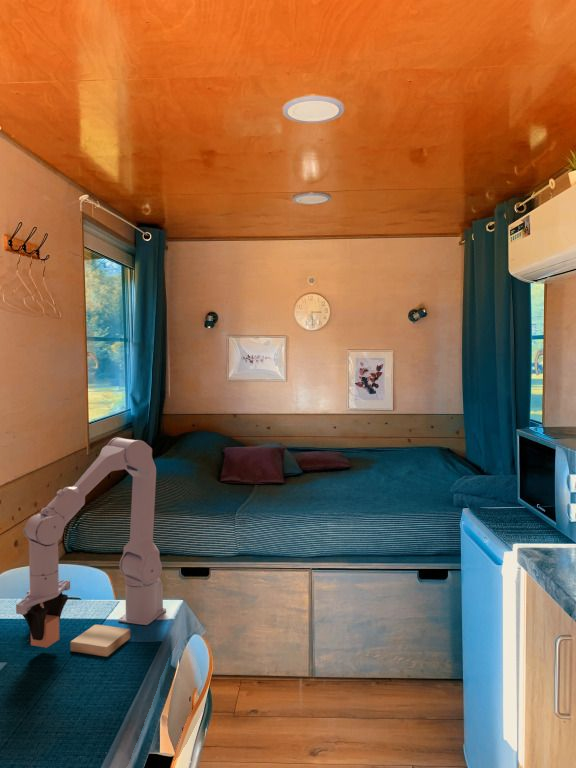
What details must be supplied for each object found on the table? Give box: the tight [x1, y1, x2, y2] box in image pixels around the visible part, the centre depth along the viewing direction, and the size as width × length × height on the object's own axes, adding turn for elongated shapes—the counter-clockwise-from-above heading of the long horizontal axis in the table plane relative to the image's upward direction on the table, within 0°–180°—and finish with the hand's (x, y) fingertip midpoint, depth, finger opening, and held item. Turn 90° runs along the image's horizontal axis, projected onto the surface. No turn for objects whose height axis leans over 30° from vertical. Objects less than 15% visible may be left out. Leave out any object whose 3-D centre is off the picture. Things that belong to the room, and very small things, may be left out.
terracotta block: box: [30, 615, 60, 649], centre depth 128 cm, size 4×4×5 cm
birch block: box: [70, 624, 131, 657], centre depth 132 cm, size 9×9×2 cm
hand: (45, 634), depth 128 cm, fingers closed on terracotta block, 4 cm apart
